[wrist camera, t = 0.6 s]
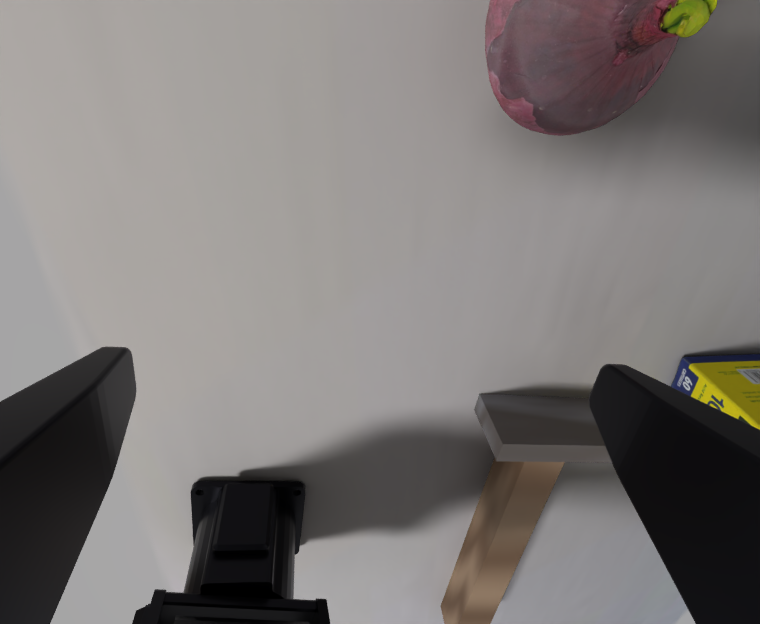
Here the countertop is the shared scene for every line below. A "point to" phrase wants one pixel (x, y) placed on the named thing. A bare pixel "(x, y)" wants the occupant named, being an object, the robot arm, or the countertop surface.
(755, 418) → the supplement box
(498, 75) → the vegetable
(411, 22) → the countertop surface
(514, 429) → the bar
